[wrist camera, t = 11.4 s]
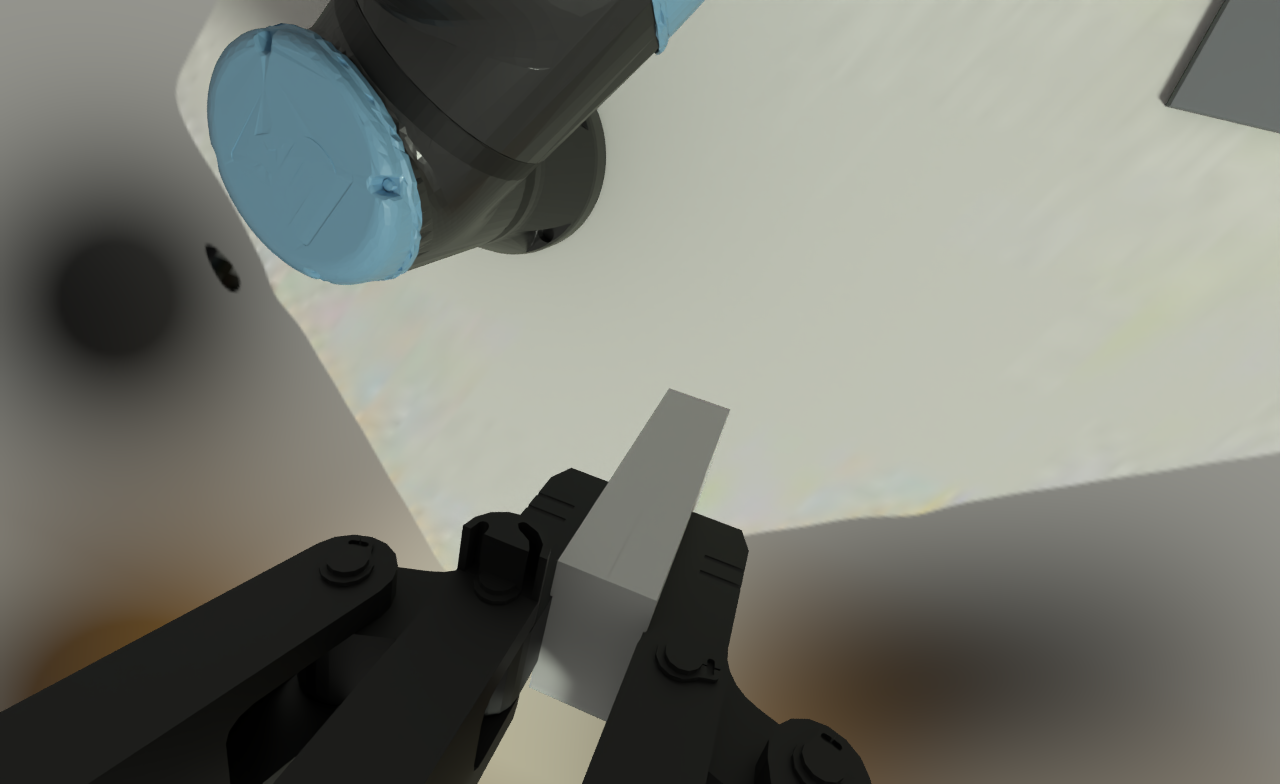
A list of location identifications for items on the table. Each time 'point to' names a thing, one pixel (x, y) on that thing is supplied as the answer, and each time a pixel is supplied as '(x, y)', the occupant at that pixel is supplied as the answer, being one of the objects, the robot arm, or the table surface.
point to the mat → (1236, 67)
